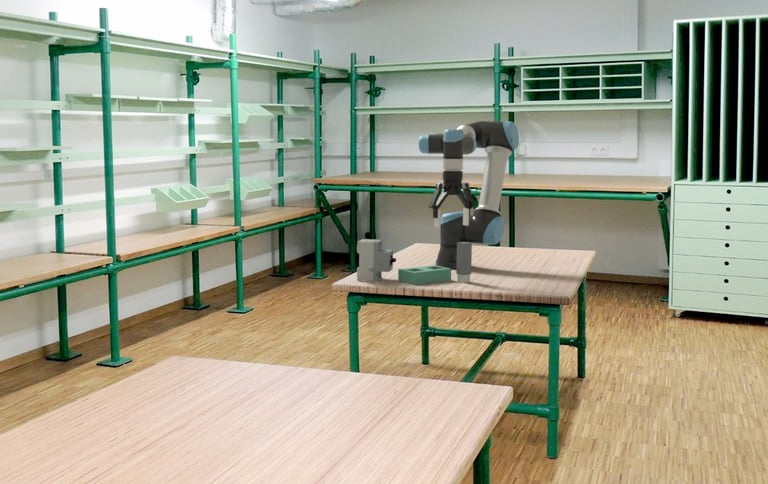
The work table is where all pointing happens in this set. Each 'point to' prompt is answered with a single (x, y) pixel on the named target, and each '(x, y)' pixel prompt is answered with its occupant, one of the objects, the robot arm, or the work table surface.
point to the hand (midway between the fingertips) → (451, 226)
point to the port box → (424, 274)
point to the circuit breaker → (373, 260)
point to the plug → (464, 261)
